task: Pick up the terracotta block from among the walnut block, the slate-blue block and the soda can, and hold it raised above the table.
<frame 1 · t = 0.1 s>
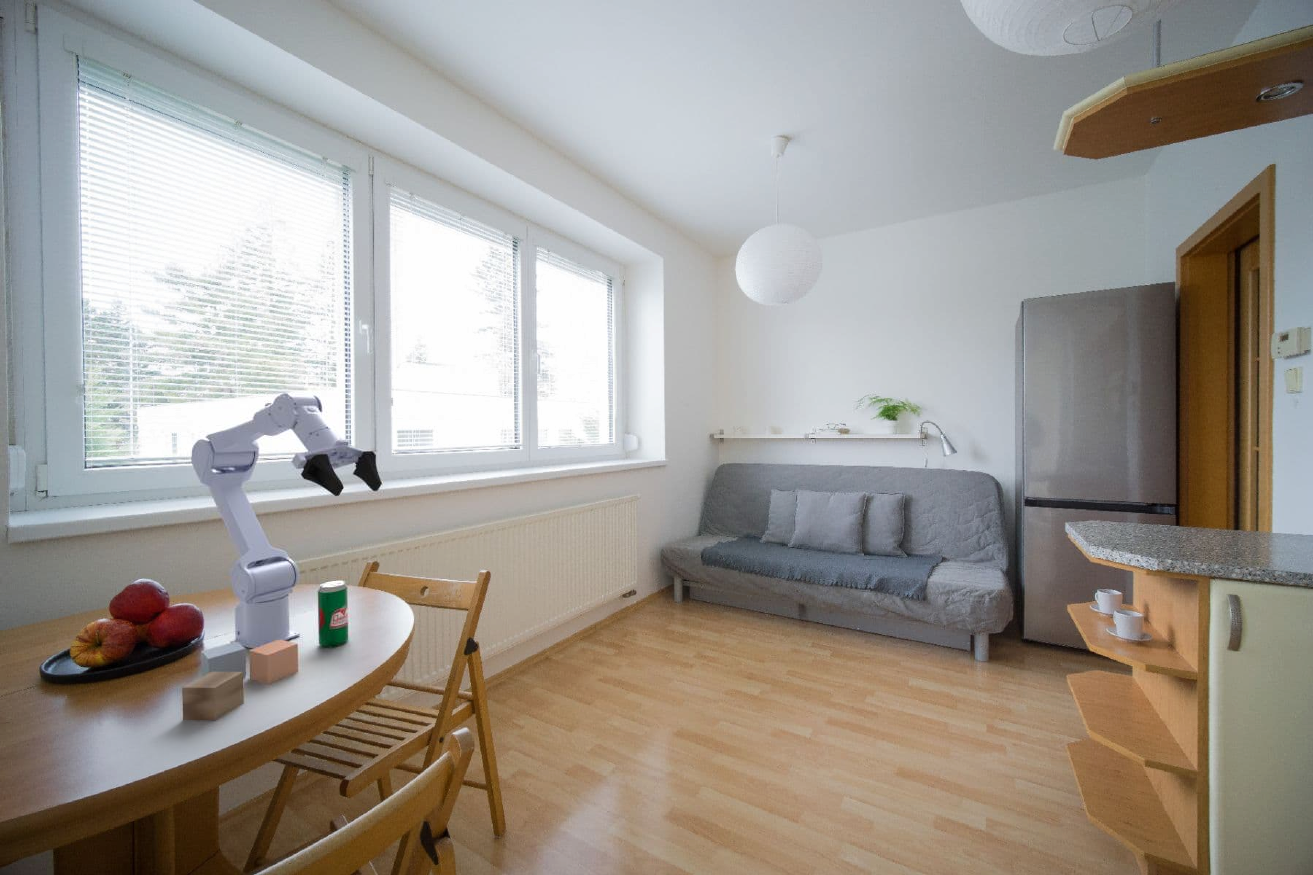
hand: (359, 489, 94), 32 cm above the table, tool tilted 50°, fingers open, 7 cm apart
slate blue block: (223, 678, 90), on the table
soda can: (333, 644, 104), on the table
terracotta block: (274, 675, 91), on the table
walnut block: (214, 711, 79), on the table
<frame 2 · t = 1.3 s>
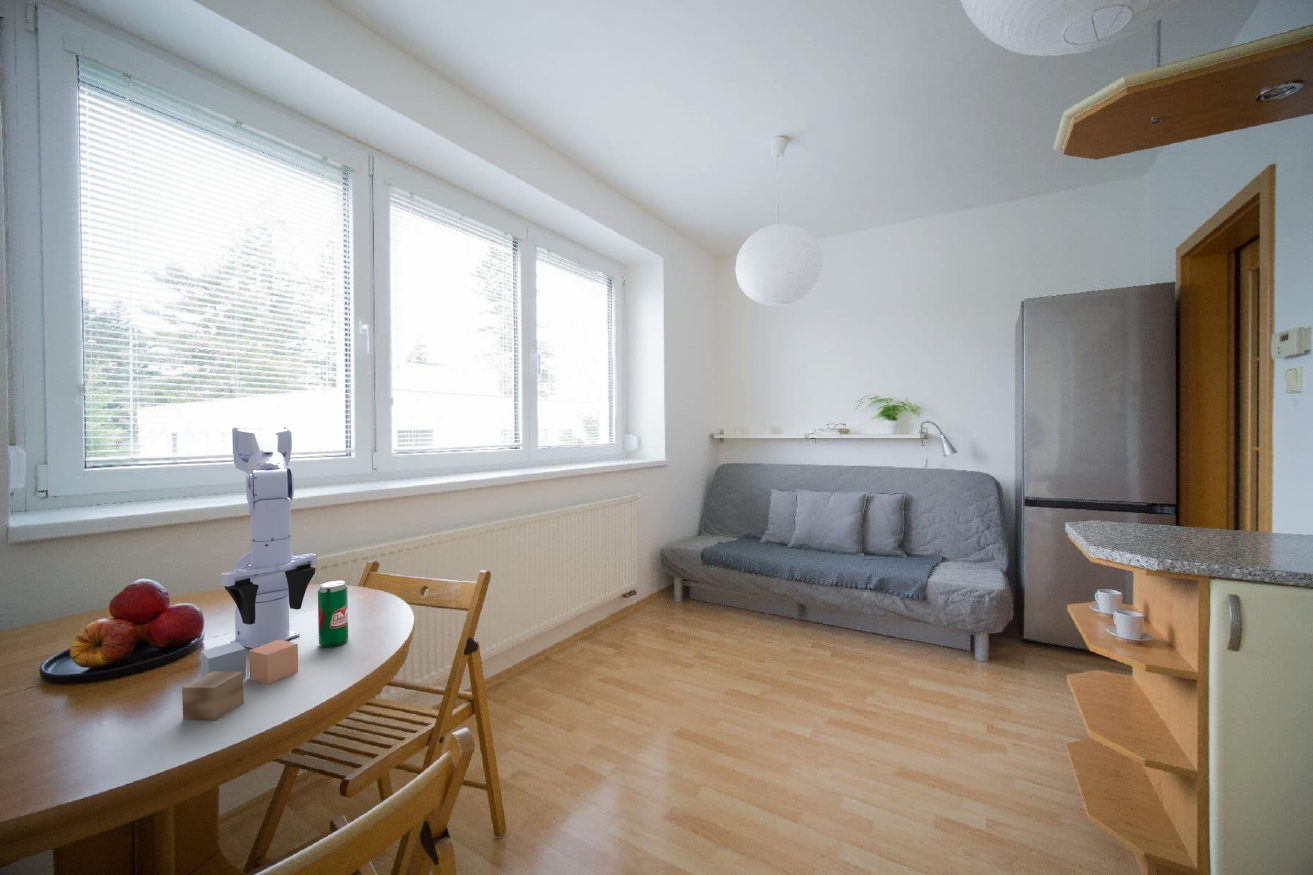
hand: (273, 615, 91), 10 cm above the table, tool pointing down, fingers open, 7 cm apart
nothing on the table moved.
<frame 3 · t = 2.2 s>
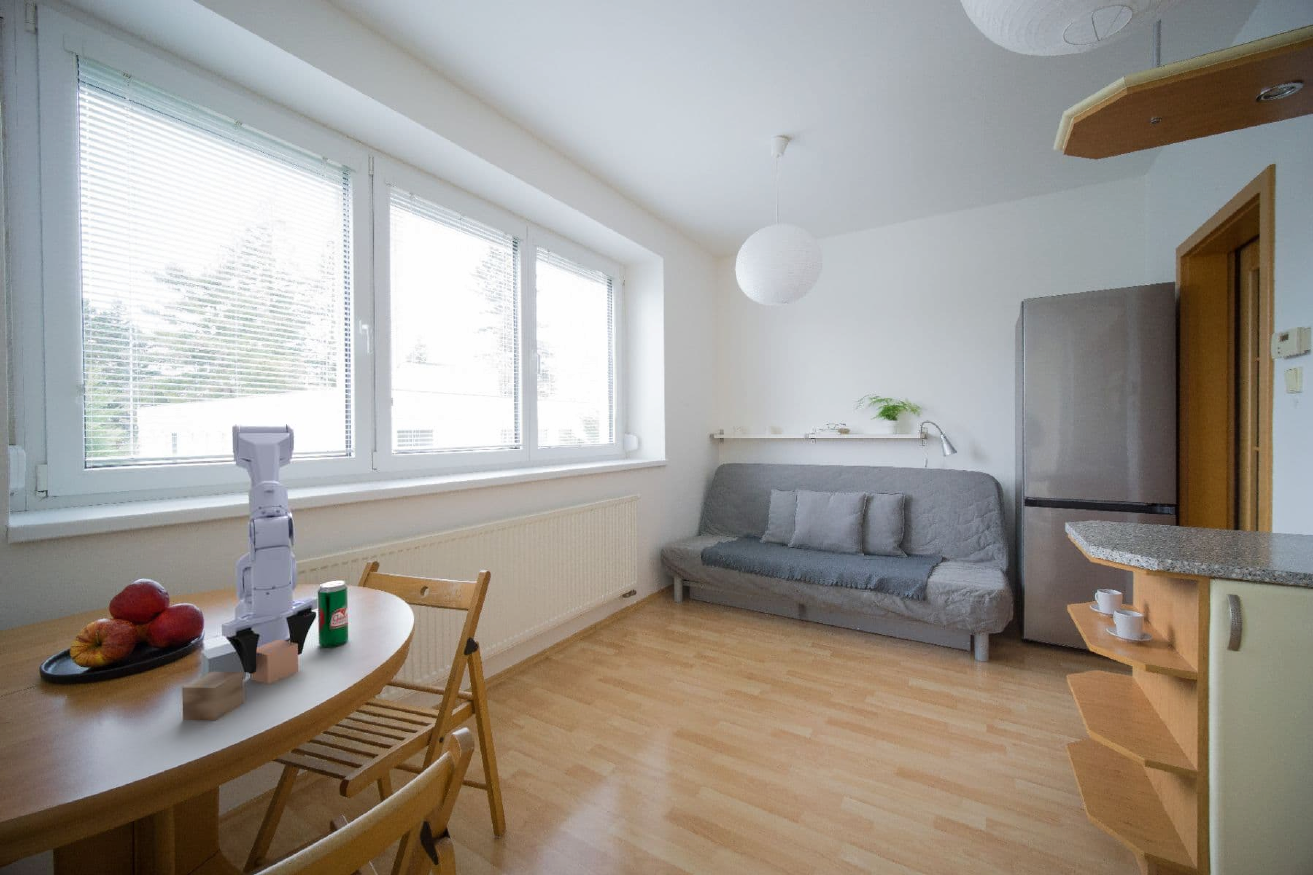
hand: (274, 662, 91), 2 cm above the table, tool pointing down, fingers open, 7 cm apart
nothing on the table moved.
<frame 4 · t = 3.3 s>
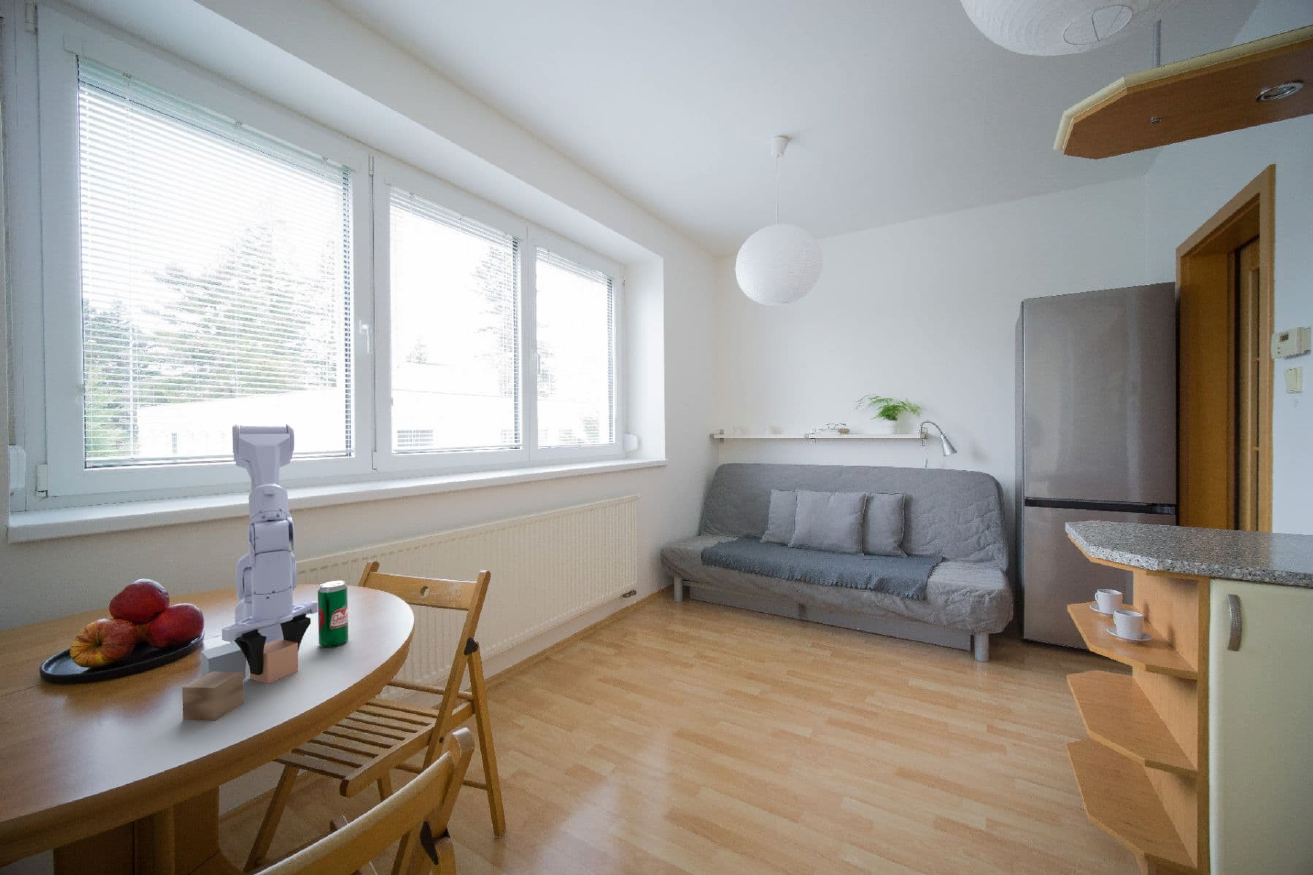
hand: (274, 666, 91), 1 cm above the table, tool pointing down, fingers closed on terracotta block, 5 cm apart
terracotta block: (274, 674, 91), on the table, touching gripper
everything else where it was.
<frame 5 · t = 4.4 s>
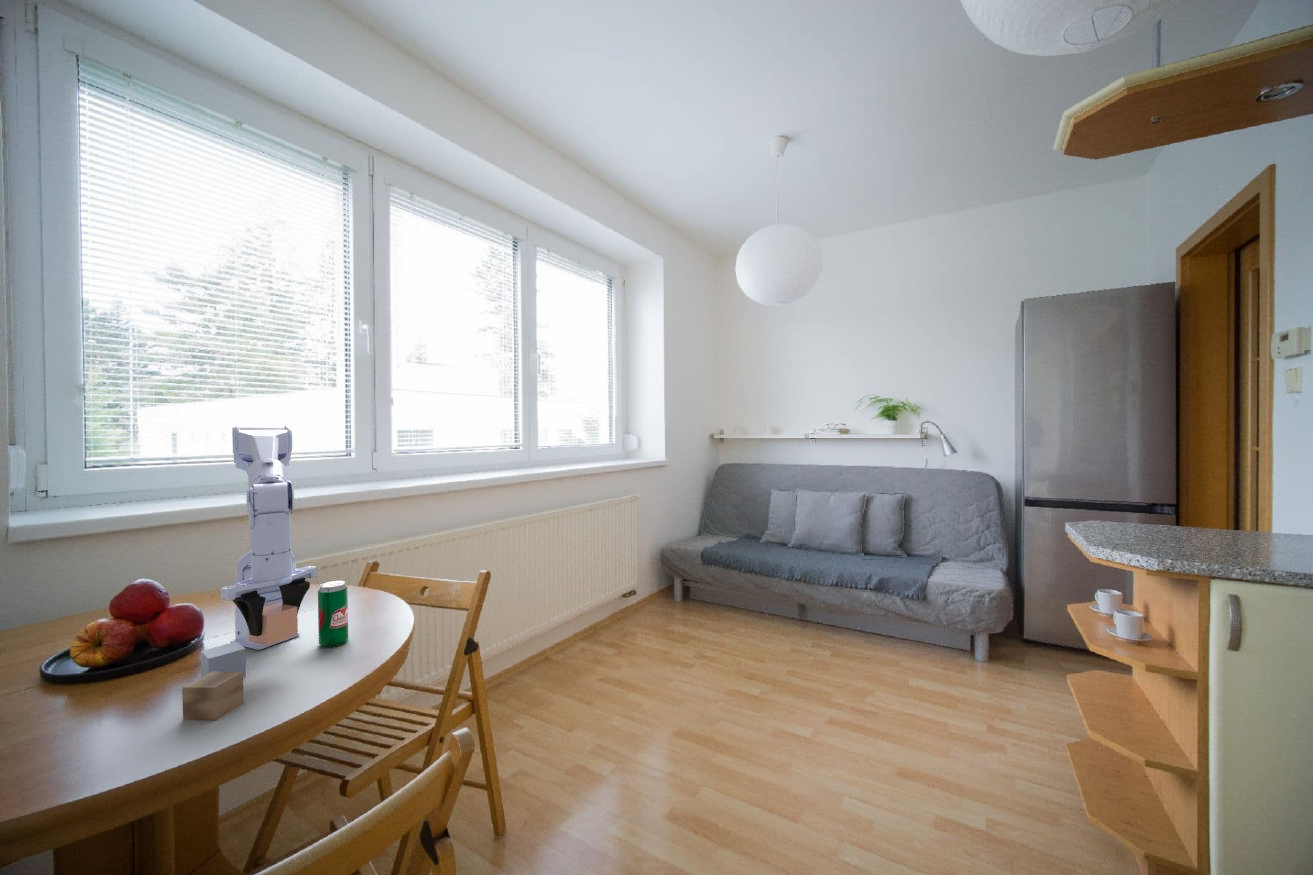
hand: (273, 628, 91), 8 cm above the table, tool pointing down, fingers closed on terracotta block, 5 cm apart
terracotta block: (273, 637, 91), point 6 cm above the table, touching gripper
everything else where it was.
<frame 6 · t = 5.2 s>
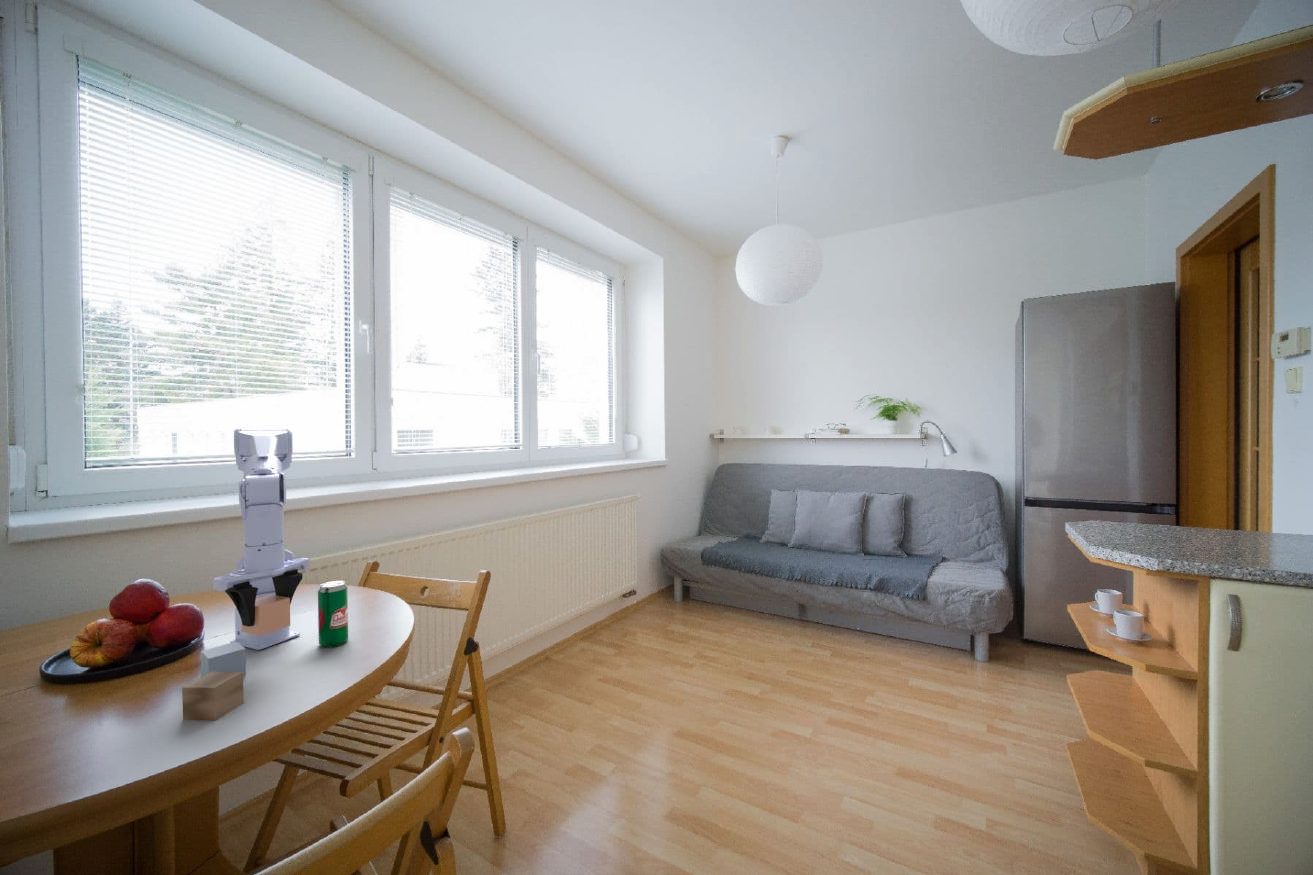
hand: (265, 619, 91), 9 cm above the table, tool pointing down, fingers closed on terracotta block, 5 cm apart
terracotta block: (266, 628, 91), point 8 cm above the table, touching gripper
everything else where it was.
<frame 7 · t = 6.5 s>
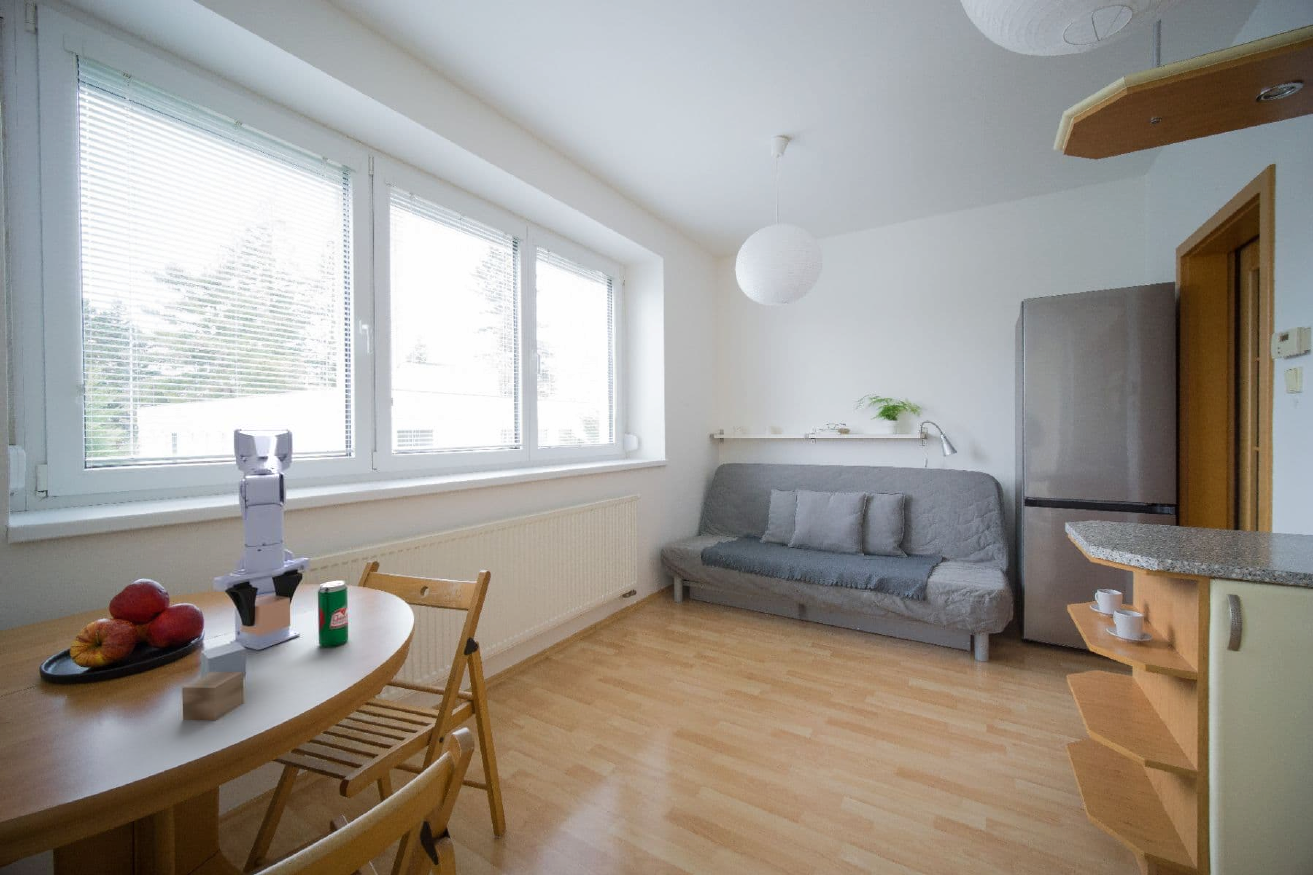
hand: (265, 619, 91), 9 cm above the table, tool pointing down, fingers closed on terracotta block, 5 cm apart
terracotta block: (266, 628, 91), point 8 cm above the table, touching gripper
everything else where it was.
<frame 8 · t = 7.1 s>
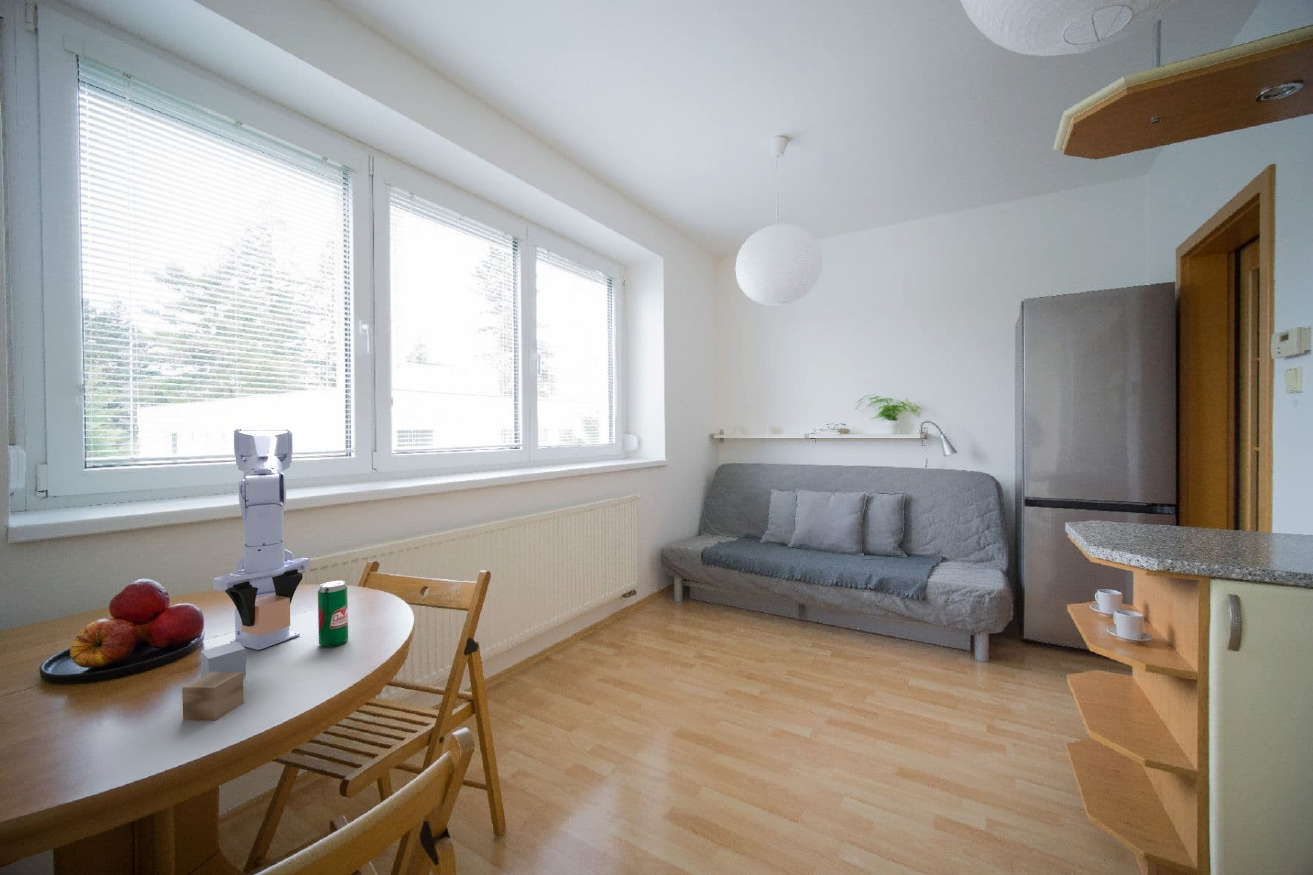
hand: (265, 619, 91), 9 cm above the table, tool pointing down, fingers closed on terracotta block, 5 cm apart
terracotta block: (266, 628, 91), point 8 cm above the table, touching gripper
everything else where it was.
at the end: the gripper is holding terracotta block; terracotta block point 7.8 cm above the table; slate blue block moved 0.1 cm from its start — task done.
